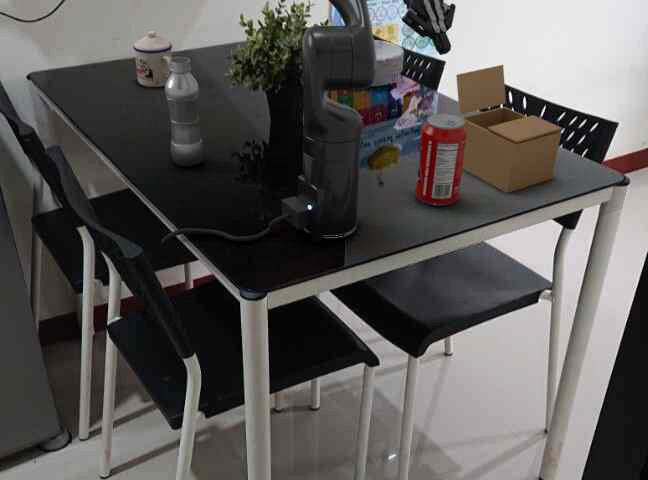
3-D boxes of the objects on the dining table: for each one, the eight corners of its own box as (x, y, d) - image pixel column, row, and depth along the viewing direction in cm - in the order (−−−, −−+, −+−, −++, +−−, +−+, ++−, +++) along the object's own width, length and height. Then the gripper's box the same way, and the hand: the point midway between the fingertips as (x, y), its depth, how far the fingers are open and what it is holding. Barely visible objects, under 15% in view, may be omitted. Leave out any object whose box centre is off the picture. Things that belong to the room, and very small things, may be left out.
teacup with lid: (129, 80, 190) (123, 31, 183) (161, 72, 195) (156, 24, 188) (158, 94, 183) (153, 43, 176) (189, 85, 188) (186, 35, 181)
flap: (460, 114, 149) (459, 114, 149) (505, 103, 155) (504, 103, 155) (457, 74, 146) (456, 74, 147) (503, 64, 152) (501, 64, 152)
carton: (453, 163, 155) (460, 113, 149) (497, 151, 161) (505, 102, 155) (506, 193, 145) (516, 140, 139) (551, 178, 151) (562, 127, 145)
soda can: (435, 212, 138) (444, 132, 129) (405, 196, 143) (413, 117, 134) (466, 201, 142) (478, 122, 133) (437, 185, 147) (446, 108, 138)
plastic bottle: (173, 171, 149) (163, 67, 137) (169, 157, 154) (159, 55, 143) (207, 168, 151) (200, 64, 139) (202, 154, 156) (195, 53, 144)
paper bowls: (371, 95, 185) (373, 62, 181) (327, 78, 194) (328, 46, 190) (414, 82, 194) (417, 50, 189) (370, 66, 203) (372, 35, 198)
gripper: (428, -18, 163) (459, 57, 162) (377, -11, 157) (410, 67, 156) (447, -41, 156) (481, 37, 155) (396, -34, 150) (430, 47, 149)
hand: (445, 52), depth 156 cm, fingers closed
